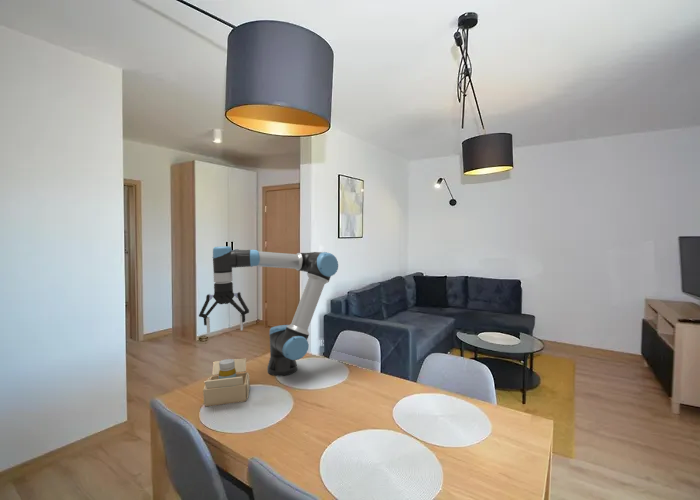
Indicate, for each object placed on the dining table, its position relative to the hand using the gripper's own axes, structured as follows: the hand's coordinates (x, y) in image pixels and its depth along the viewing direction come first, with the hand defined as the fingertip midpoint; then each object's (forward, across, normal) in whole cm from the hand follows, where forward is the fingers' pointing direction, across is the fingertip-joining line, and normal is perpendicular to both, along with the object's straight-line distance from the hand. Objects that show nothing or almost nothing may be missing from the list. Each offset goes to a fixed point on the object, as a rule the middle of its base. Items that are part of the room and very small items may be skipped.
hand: (225, 331), depth 146 cm
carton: (+29, 0, 0) cm, 29 cm away
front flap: (+19, 0, +9) cm, 21 cm away
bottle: (+28, 0, 0) cm, 28 cm away
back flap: (+19, 0, -9) cm, 21 cm away
